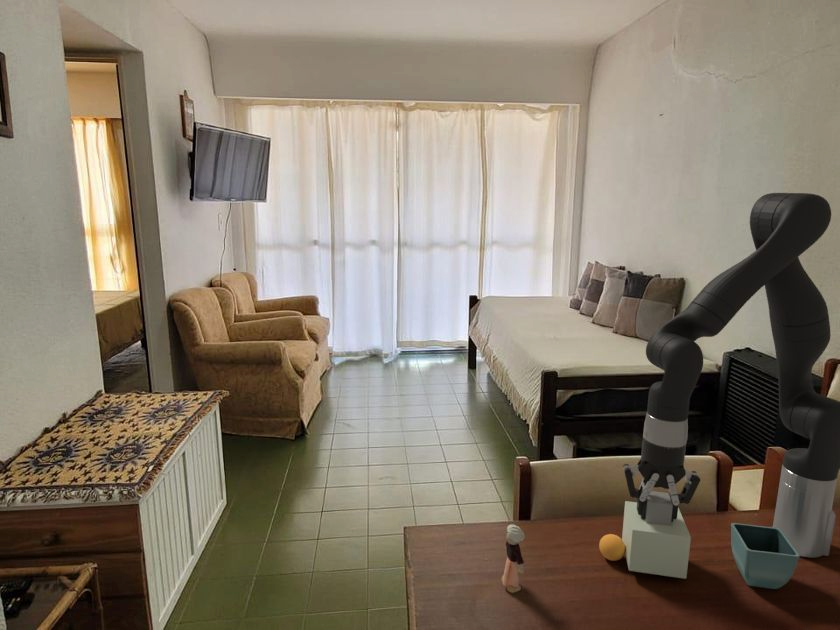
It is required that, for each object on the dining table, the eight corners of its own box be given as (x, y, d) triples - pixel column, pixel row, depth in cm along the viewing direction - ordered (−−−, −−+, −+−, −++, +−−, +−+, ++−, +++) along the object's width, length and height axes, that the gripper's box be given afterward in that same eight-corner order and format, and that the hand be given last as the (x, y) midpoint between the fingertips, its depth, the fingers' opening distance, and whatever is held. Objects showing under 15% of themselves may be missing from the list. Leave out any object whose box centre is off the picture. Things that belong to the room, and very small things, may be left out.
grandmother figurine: (492, 576, 104) (494, 517, 101) (509, 570, 105) (511, 513, 103) (514, 602, 97) (517, 541, 94) (532, 596, 99) (535, 535, 96)
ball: (628, 544, 110) (614, 525, 110) (632, 559, 105) (617, 539, 105) (607, 554, 112) (593, 535, 112) (609, 570, 107) (595, 550, 107)
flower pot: (794, 599, 98) (801, 556, 96) (741, 592, 99) (747, 550, 98) (773, 567, 106) (779, 527, 104) (724, 562, 108) (730, 522, 106)
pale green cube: (674, 545, 110) (680, 487, 108) (686, 578, 101) (693, 515, 98) (622, 538, 113) (626, 481, 110) (628, 570, 103) (634, 508, 100)
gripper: (700, 432, 103) (690, 512, 107) (622, 425, 106) (615, 502, 110) (711, 449, 96) (700, 534, 100) (627, 441, 99) (619, 523, 103)
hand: (655, 517), depth 105 cm, fingers closed on pale green cube, 4 cm apart
